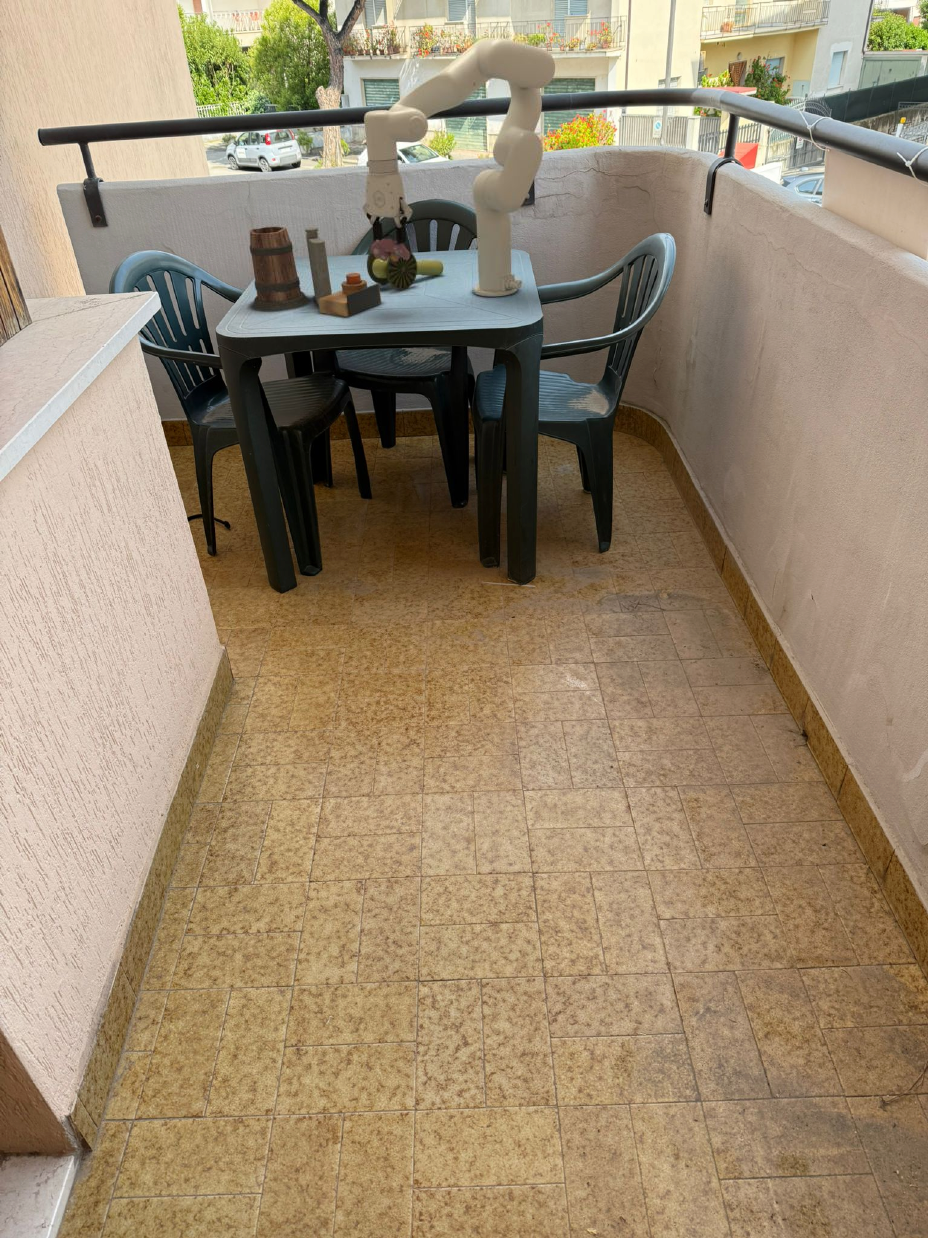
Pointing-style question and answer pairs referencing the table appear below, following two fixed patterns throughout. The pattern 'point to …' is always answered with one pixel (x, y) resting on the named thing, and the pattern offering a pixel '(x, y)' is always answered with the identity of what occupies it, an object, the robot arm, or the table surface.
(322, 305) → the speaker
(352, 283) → the power button
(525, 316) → the table surface
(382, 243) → the pink lumpy mass
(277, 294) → the tankard
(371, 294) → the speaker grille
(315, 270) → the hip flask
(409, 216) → the robot arm
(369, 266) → the cannon
